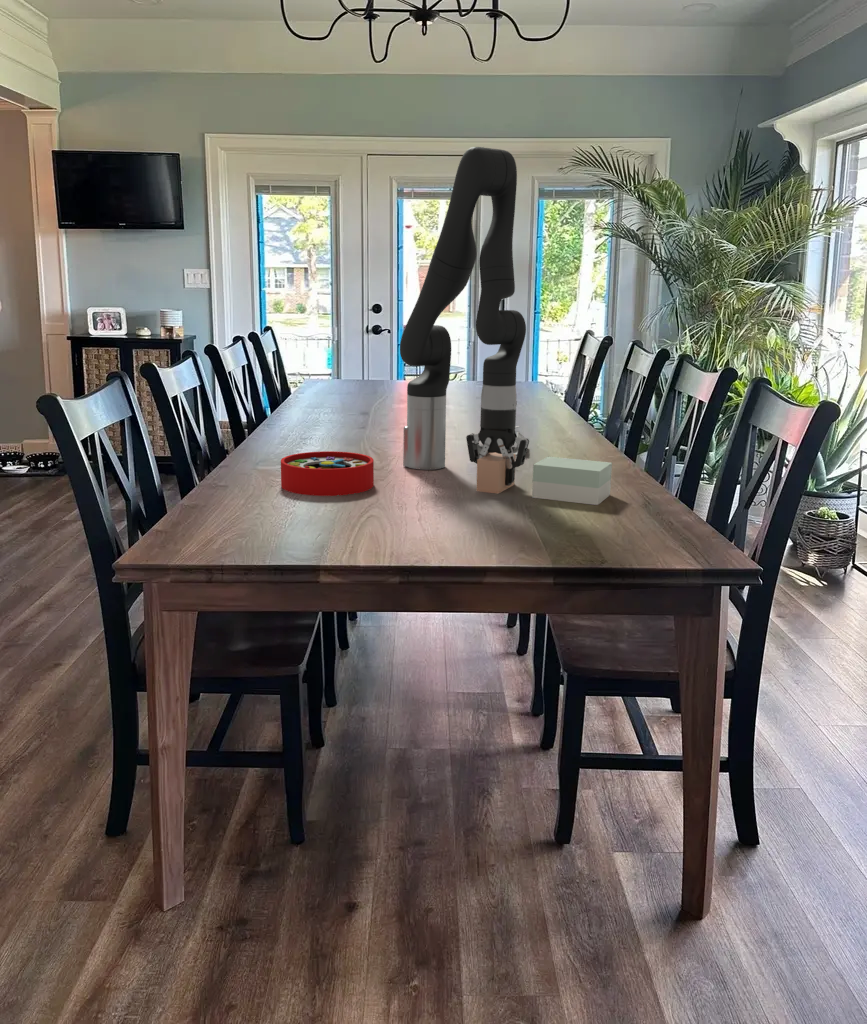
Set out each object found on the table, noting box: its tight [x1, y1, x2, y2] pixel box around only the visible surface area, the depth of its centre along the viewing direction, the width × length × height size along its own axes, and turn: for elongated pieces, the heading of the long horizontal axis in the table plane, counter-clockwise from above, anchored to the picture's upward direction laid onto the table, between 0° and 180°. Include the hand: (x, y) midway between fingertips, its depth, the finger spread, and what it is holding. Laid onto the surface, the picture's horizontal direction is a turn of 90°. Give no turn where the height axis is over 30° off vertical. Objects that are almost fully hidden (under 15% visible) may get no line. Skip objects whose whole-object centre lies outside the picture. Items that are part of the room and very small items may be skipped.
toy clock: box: [280, 450, 375, 497], centre depth 202 cm, size 20×6×20 cm
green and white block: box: [531, 456, 613, 506], centre depth 195 cm, size 14×10×7 cm
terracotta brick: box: [476, 452, 517, 495], centre depth 202 cm, size 5×10×7 cm, turn 155°
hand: (496, 483), depth 202 cm, fingers open, 5 cm apart
